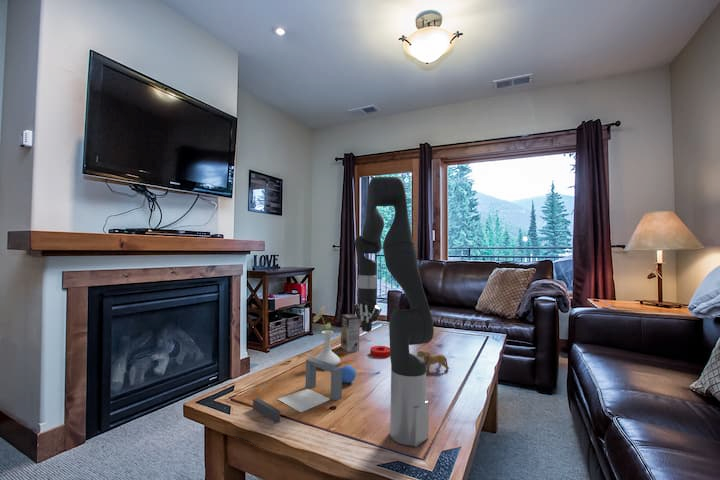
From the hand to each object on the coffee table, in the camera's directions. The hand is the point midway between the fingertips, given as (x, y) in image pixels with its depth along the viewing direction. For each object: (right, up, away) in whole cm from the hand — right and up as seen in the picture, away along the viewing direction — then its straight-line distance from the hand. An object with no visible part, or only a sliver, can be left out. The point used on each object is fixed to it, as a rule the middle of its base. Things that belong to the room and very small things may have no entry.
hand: (366, 331), depth 132 cm
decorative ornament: (+7, -18, +25) cm, 32 cm away
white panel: (-21, -16, -23) cm, 34 cm away
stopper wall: (-30, -16, -33) cm, 47 cm away
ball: (-7, -14, -8) cm, 17 cm away
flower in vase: (-17, -17, +9) cm, 26 cm away
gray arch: (-15, -16, -17) cm, 28 cm away
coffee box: (-8, -18, +33) cm, 38 cm away
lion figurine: (+27, -18, +5) cm, 33 cm away
